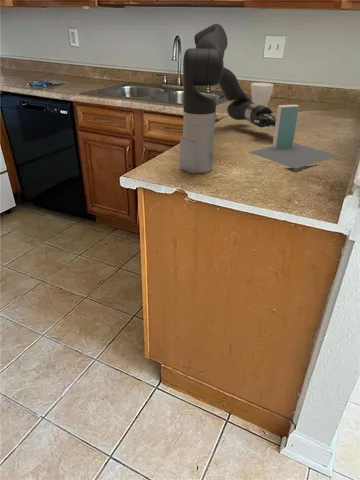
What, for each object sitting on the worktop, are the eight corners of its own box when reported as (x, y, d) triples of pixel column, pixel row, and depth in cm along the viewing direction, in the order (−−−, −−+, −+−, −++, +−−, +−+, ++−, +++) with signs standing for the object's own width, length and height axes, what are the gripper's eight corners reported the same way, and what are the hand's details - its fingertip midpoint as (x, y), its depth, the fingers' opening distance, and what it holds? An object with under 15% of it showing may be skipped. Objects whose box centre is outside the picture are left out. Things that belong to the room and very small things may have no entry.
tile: (272, 146, 134) (277, 105, 127) (289, 145, 136) (295, 104, 129) (275, 148, 132) (281, 106, 125) (293, 146, 134) (299, 105, 127)
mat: (295, 172, 115) (295, 168, 115) (248, 155, 129) (248, 151, 129) (337, 159, 127) (338, 155, 126) (290, 144, 141) (290, 141, 140)
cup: (269, 116, 182) (273, 86, 175) (247, 115, 183) (250, 85, 177) (269, 111, 191) (273, 83, 184) (248, 110, 192) (251, 82, 186)
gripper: (243, 105, 143) (266, 115, 129) (274, 104, 146) (300, 113, 132) (241, 126, 147) (264, 137, 132) (272, 123, 150) (296, 134, 136)
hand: (282, 125), depth 132 cm, fingers closed
